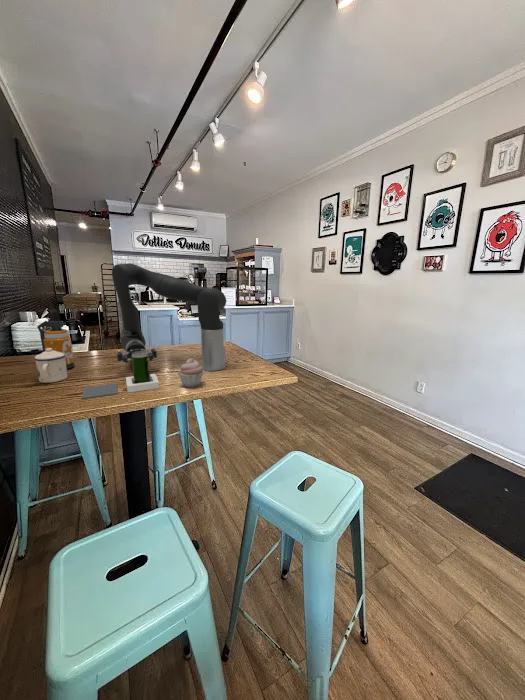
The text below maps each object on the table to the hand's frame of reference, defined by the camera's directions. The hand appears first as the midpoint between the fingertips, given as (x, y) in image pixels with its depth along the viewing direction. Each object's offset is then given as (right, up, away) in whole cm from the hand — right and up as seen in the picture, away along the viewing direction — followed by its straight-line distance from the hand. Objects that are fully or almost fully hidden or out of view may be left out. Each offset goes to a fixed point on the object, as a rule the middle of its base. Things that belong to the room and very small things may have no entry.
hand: (138, 359), depth 107 cm
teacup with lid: (-30, -8, -3) cm, 31 cm away
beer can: (+4, -9, -6) cm, 12 cm away
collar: (+4, -9, -7) cm, 12 cm away
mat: (-7, -10, -12) cm, 18 cm away
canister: (-38, -4, +11) cm, 39 cm away
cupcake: (+21, -9, -4) cm, 24 cm away
